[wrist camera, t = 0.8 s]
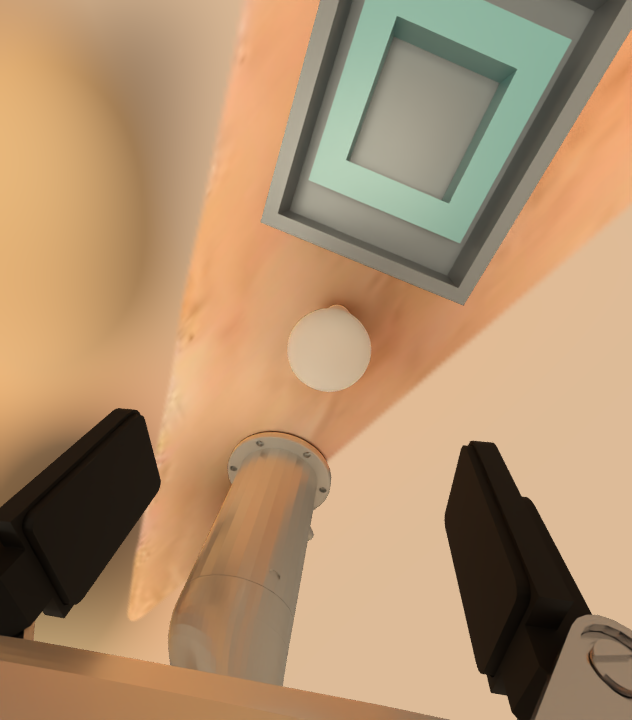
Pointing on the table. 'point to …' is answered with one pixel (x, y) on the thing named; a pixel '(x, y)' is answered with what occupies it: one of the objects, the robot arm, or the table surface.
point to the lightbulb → (329, 349)
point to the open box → (433, 126)
